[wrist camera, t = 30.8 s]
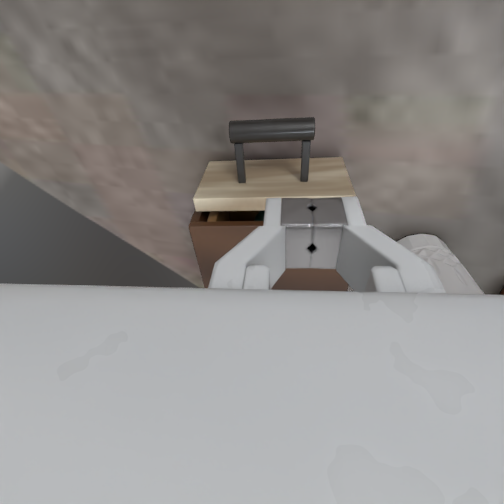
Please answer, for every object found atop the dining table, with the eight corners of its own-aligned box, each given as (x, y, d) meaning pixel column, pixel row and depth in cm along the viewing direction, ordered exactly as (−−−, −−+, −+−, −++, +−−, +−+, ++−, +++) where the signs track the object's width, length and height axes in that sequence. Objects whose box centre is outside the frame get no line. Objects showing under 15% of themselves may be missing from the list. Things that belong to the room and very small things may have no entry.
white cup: (363, 259, 35) (384, 331, 28) (421, 216, 30) (466, 288, 23) (406, 287, 38) (436, 359, 30) (466, 251, 33) (519, 326, 26)
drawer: (199, 106, 24) (177, 136, 19) (350, 98, 23) (369, 128, 18) (226, 257, 36) (216, 301, 31) (328, 258, 34) (335, 303, 29)
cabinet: (208, 176, 29) (188, 226, 23) (344, 173, 28) (362, 224, 22) (225, 270, 38) (214, 324, 32) (329, 271, 37) (339, 328, 31)
